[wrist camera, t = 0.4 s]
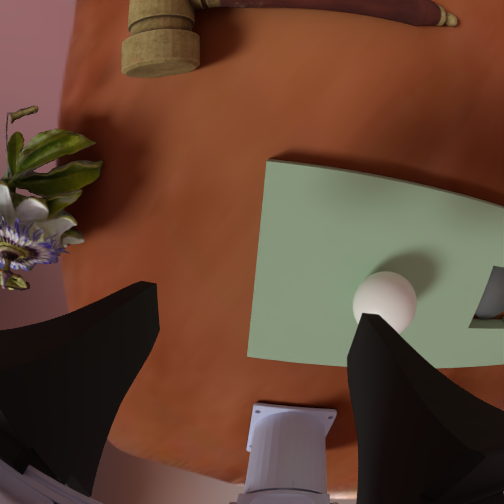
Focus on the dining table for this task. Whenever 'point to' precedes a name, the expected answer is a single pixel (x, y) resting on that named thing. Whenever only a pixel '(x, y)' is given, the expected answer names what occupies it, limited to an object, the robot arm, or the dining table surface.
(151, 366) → the dining table surface
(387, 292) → the ball
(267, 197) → the putting mat
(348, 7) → the gavel
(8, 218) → the passion flower
